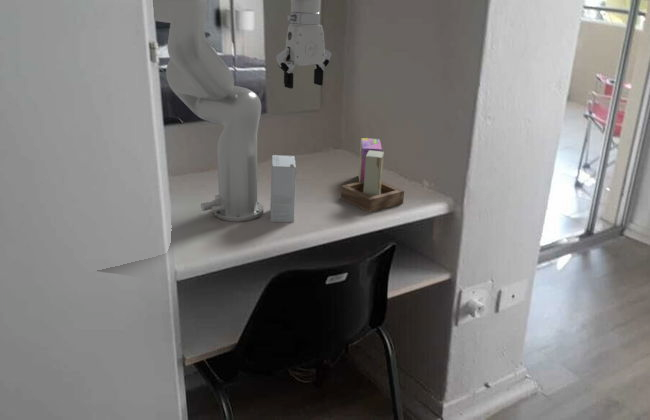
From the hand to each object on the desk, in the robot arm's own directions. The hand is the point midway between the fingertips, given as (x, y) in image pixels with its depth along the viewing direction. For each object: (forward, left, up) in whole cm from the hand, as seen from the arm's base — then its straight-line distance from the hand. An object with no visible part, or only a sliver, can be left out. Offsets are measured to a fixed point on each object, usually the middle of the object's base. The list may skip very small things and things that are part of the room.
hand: (303, 86), depth 161 cm
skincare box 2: (+9, -20, -28) cm, 35 cm away
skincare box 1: (-17, -16, -28) cm, 37 cm away
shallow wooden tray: (+9, -20, -28) cm, 36 cm away
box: (+19, -8, -29) cm, 35 cm away
